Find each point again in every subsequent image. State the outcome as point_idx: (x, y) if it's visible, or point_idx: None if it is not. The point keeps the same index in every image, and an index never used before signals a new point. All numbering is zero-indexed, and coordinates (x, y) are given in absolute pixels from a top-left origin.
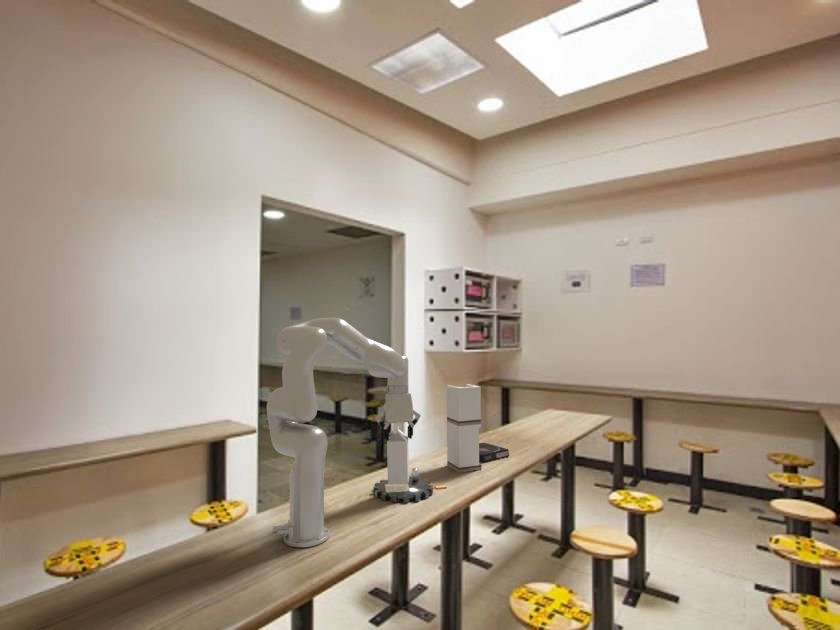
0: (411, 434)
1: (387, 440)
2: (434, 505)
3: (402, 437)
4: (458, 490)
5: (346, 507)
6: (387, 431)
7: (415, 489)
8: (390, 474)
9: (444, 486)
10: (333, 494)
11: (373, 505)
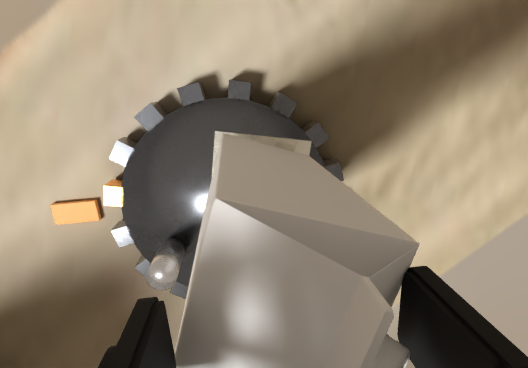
0: (127, 332)
1: (414, 268)
2: (131, 26)
3: (269, 239)
4: (4, 168)
5: (447, 100)
6: (497, 337)
7: (187, 153)
8: (308, 161)
9: (59, 210)
10: (454, 226)
11: (358, 93)
